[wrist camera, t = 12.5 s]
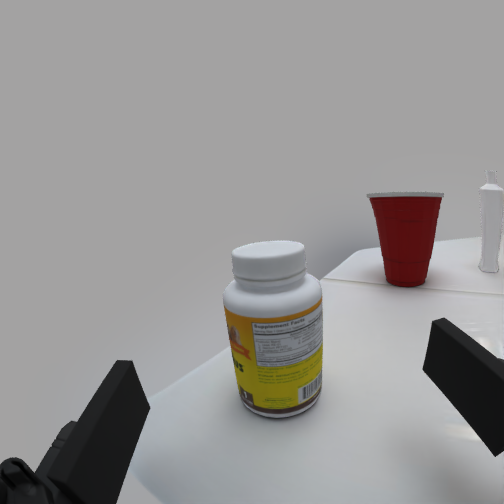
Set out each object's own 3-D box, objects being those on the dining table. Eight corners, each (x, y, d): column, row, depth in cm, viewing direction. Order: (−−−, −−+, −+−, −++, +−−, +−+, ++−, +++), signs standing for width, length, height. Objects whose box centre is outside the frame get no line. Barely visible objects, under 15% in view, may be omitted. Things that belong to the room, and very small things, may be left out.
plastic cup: (435, 268, 37) (436, 189, 34) (448, 294, 28) (452, 192, 25) (370, 267, 42) (368, 189, 39) (365, 293, 33) (363, 192, 30)
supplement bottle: (243, 372, 21) (225, 241, 18) (316, 367, 20) (312, 234, 18) (235, 423, 15) (205, 265, 13) (326, 418, 15) (329, 254, 12)
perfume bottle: (504, 273, 29) (507, 171, 26) (481, 273, 31) (483, 169, 28) (496, 264, 33) (498, 171, 30) (475, 264, 35) (476, 170, 32)
